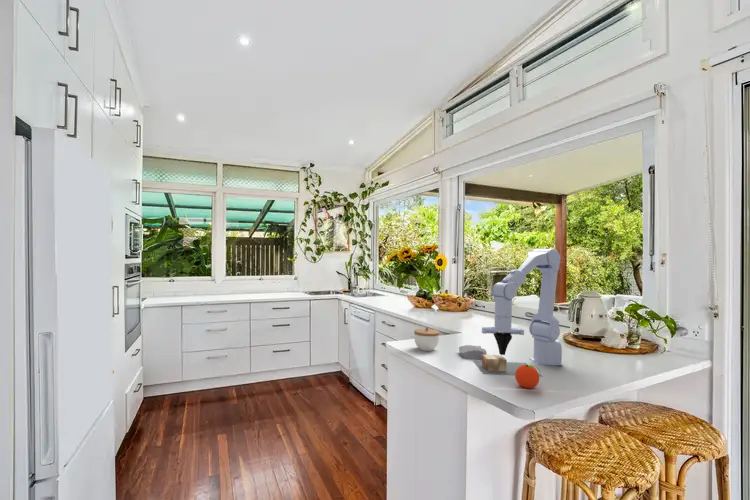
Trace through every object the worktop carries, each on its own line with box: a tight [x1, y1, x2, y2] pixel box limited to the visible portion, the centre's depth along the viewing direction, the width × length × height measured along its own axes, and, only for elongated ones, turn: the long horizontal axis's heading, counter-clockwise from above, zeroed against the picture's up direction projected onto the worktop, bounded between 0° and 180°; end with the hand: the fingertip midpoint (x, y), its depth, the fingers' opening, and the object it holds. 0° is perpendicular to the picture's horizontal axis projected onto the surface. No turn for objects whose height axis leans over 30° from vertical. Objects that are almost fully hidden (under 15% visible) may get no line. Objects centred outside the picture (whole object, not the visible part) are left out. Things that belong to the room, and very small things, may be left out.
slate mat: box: [472, 360, 544, 378], centre depth 132 cm, size 20×16×1 cm
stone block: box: [458, 344, 488, 360], centre depth 148 cm, size 12×5×10 cm
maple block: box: [481, 354, 508, 371], centre depth 131 cm, size 4×6×7 cm
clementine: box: [514, 364, 541, 389], centre depth 113 cm, size 8×7×7 cm
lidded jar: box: [413, 326, 440, 352], centre depth 157 cm, size 11×11×9 cm
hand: (502, 354), depth 131 cm, fingers closed
